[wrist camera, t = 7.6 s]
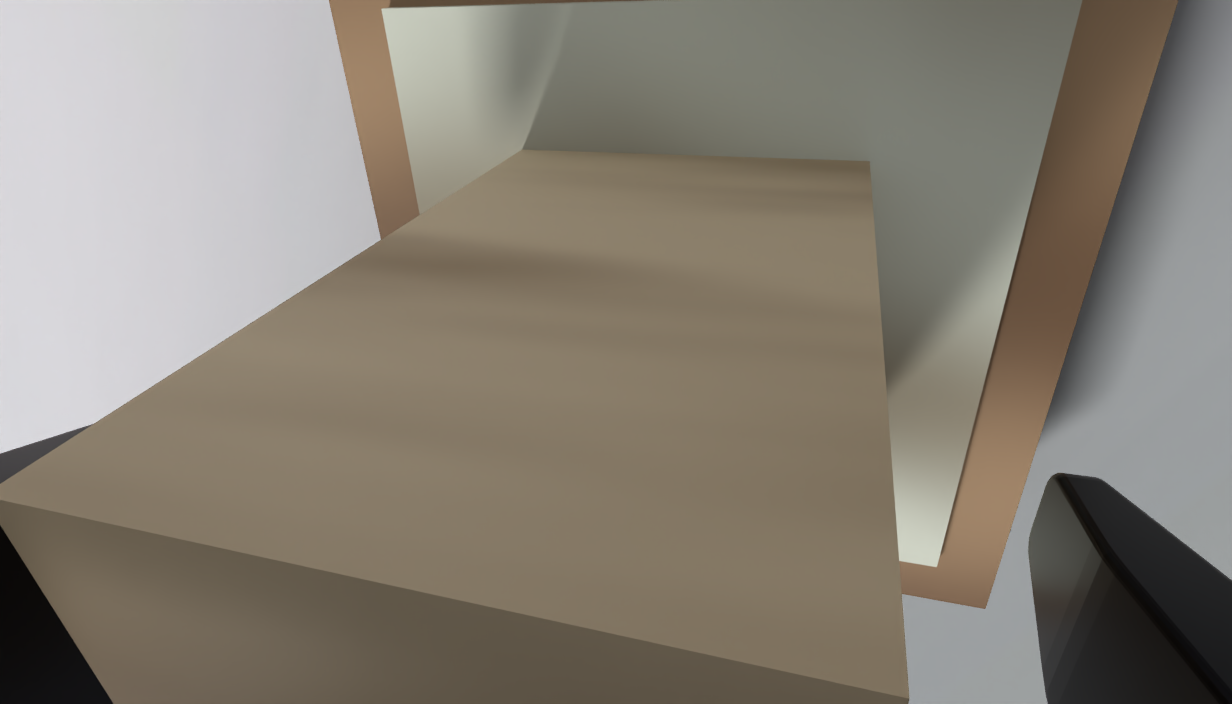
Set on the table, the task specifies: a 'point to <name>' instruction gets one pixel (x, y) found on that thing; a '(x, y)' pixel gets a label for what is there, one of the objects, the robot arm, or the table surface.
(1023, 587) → the table surface
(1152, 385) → the table surface
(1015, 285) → the picture frame
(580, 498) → the oak block
